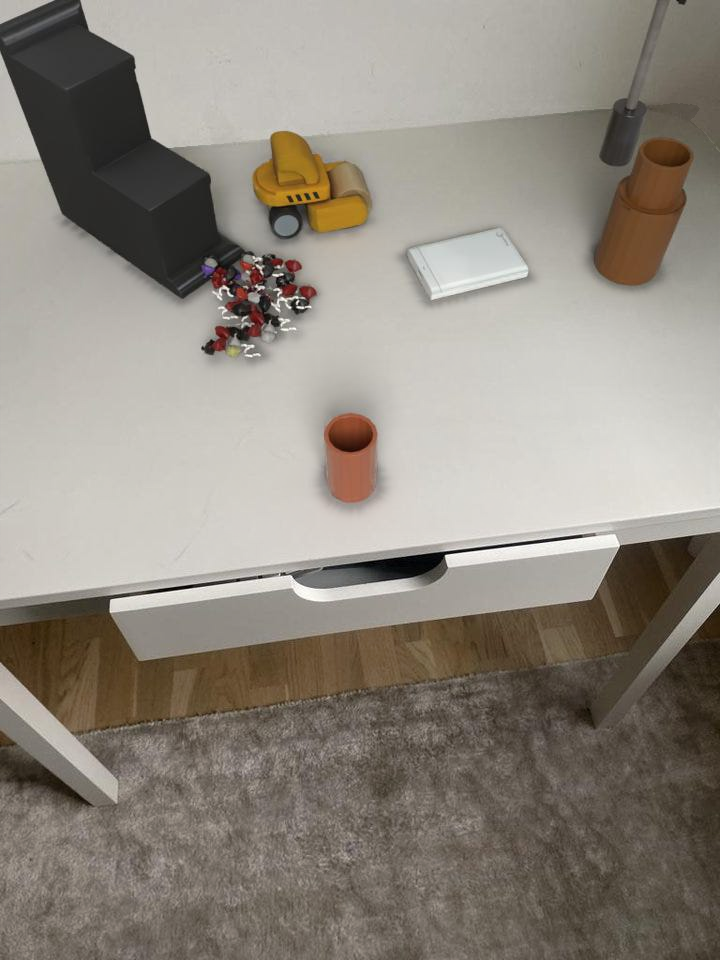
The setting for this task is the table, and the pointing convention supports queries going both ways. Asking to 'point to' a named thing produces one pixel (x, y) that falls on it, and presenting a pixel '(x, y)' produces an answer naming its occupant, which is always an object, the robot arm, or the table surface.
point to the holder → (351, 457)
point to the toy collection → (253, 299)
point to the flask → (644, 212)
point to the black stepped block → (110, 149)
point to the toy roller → (309, 188)
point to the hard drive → (467, 263)
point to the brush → (632, 101)
